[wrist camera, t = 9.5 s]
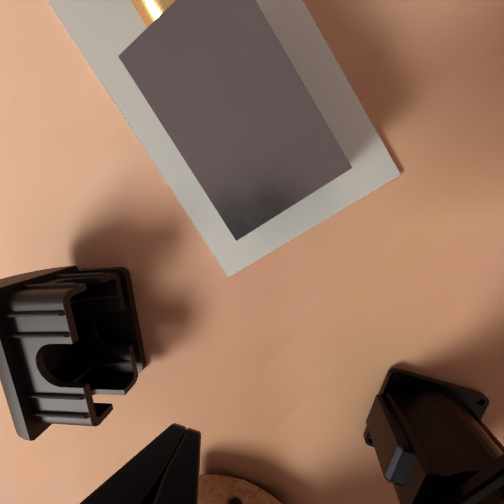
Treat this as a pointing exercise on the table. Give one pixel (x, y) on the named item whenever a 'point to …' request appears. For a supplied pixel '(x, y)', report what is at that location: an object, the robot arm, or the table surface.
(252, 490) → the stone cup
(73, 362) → the end cap
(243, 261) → the board
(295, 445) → the table surface
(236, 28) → the sleeve
